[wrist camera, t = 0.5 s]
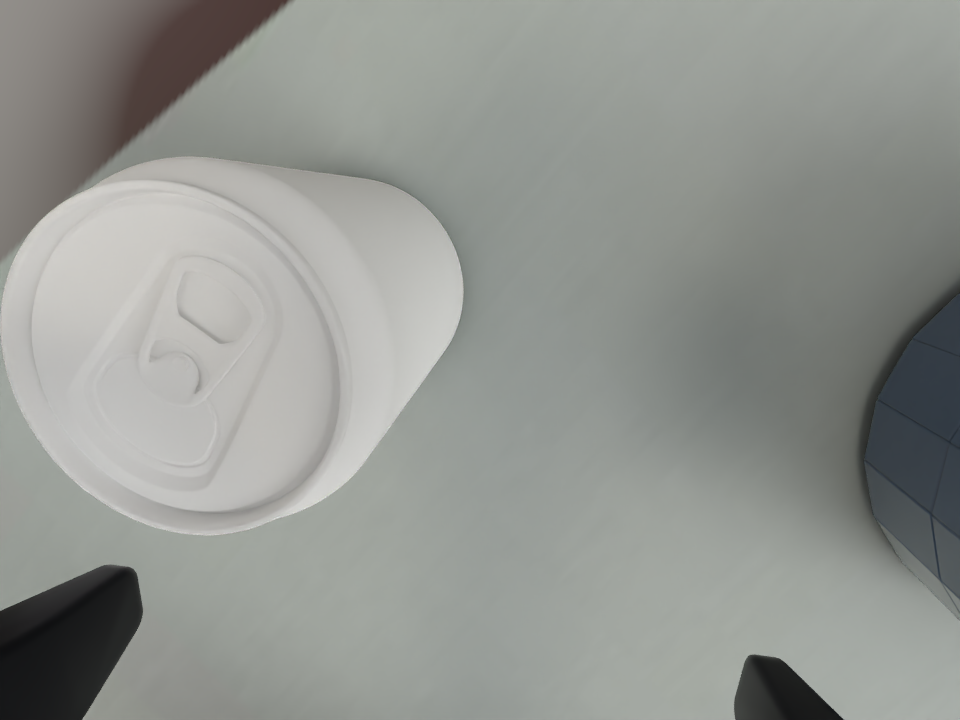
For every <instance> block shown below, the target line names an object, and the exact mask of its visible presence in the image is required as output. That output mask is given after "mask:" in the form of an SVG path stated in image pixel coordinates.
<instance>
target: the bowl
mask: <svg viewBox="0 0 960 720" xmlns="http://www.w3.org/2000/svg"><path fill="white" fill-rule="evenodd" d="M877 399H878V400H877V401H876V404H875V409H874V414H873V419H872V423H871V428H870V433H869V438H868V443H867V448H866V453H865V460H864V464H865V470H866V476H867V482H868V488H869V494H870V499H871V505H872V511H873V515H874V516H875V519H876V521H877V522H878V524H879V526H880V527H881V529H882V530H883V532H884V534H885V535H886V537H887V539H888V540H889V542H890V543H891V545H892V547H893V548H894V550H895V551H896V553H897V555H898V556H899V558H900V559H901V561H902V562H903V563H904V564H905V566H906V567H907V568H908V569H909V570H910V571H911V572H912V573H913V574H914V575H915V576H916V577H917V578H918V579H919V580H920V581H921V582H922V583H923V584H924V585H925V586H926V587H927V588H928V589H929V590H930V591H931V592H932V593H933V594H934V595H935V596H936V597H937V598H938V599H939V600H940V601H941V602H942V603H943V604H944V605H945V606H946V607H947V608H948V609H949V610H950V611H951V612H952V613H953V614H954V615H955V617H956V618H957V619H958V620H959V621H960V292H959V293H958V294H957V295H956V296H955V297H954V298H953V299H952V300H951V301H950V302H949V303H948V304H947V305H946V306H945V307H944V308H942V309H941V310H940V311H939V312H938V313H937V314H936V315H935V316H934V317H933V318H932V319H931V320H930V321H929V322H928V323H927V324H926V325H925V326H924V327H923V328H922V329H921V330H920V331H919V332H918V333H917V334H916V335H914V336H913V339H912V340H910V342H909V344H908V346H907V347H906V349H905V351H904V352H903V353H902V355H901V356H900V358H899V360H898V361H897V363H896V365H895V367H894V368H893V370H892V372H891V373H890V375H889V377H888V379H887V381H886V383H885V385H884V387H883V388H882V390H881V392H880V394H879V395H878V398H877Z"/></svg>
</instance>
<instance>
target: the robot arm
mask: <svg viewBox="0 0 960 720" xmlns="http://www.w3.org/2000/svg"><path fill="white" fill-rule="evenodd" d="M142 615H143V607H142V601H141V595H140V589H139V583H138V577H137V573H136V572H135V571H134V569H132V568H130V567H125V566H117V565H104V566H101V567H99V568H96V569H94V570H92V571H90V572H87V573H85V574H83V575H81V576H78V577H76V578H74V579H72V580H69V581H67V582H65V583H63V584H60V585H58V586H56V587H54V588H51V589H49V590H47V591H45V592H42V593H40V594H38V595H35V596H33V597H31V598H29V599H26V600H24V601H22V602H20V603H17V604H15V605H13V606H11V607H8V608H6V609H4V610H2V611H0V720H82V719H83V717H84V716H85V714H86V713H87V711H88V710H89V708H90V706H91V705H92V703H93V701H94V700H95V698H96V696H97V695H98V693H99V692H100V690H101V688H102V687H103V685H104V683H105V682H106V680H107V678H108V677H109V675H110V673H111V672H112V670H113V669H114V667H115V665H116V664H117V662H118V660H119V659H120V657H121V655H122V654H123V652H124V650H125V649H126V647H127V646H128V644H129V642H130V641H131V639H132V637H133V636H134V634H135V632H136V631H137V629H138V627H139V625H140V622H141V619H142ZM734 712H735V720H844V719H843V718H842V717H840V716H839V715H838V714H837V713H836V712H835V711H834V710H833V709H832V708H831V707H830V706H829V705H828V704H827V703H826V702H825V701H824V700H823V699H822V698H821V697H820V696H819V695H818V694H817V693H816V692H815V691H814V690H813V689H812V688H811V687H810V686H809V685H808V684H807V683H806V682H805V681H804V680H803V679H802V678H801V677H799V676H798V675H797V674H796V673H795V672H794V671H793V670H792V669H791V668H790V667H789V666H788V665H787V664H786V663H785V662H784V661H782V660H781V659H779V658H775V657H768V656H761V655H750V656H748V657H747V659H746V660H745V663H744V667H743V670H742V674H741V678H740V681H739V685H738V689H737V692H736V696H735V702H734Z"/></svg>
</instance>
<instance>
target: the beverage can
mask: <svg viewBox="0 0 960 720" xmlns="http://www.w3.org/2000/svg"><path fill="white" fill-rule="evenodd" d="M463 291H464V290H463V277H462V271H461V266H460V262H459V259H458V256H457V253H456V250H455V248H454V245H453V243H452V241H451V239H450V237H449V236H448V234H447V232H446V231H445V229H444V228H443V226H442V225H441V223H440V222H439V221H438V219H437V218H436V217H435V216H434V215H433V214H432V213H431V212H430V211H429V210H428V209H427V208H426V207H425V206H424V205H423V204H422V203H420V202H419V201H418V200H417V199H415V198H414V197H412V196H411V195H409V194H408V193H406V192H404V191H402V190H400V189H398V188H396V187H394V186H391V185H389V184H386V183H383V182H379V181H375V180H370V179H364V178H357V177H350V176H343V175H335V174H328V173H321V172H313V171H306V170H299V169H291V168H284V167H277V166H269V165H262V164H255V163H248V162H240V161H233V160H225V159H218V158H209V157H196V156H184V157H171V158H164V159H157V160H153V161H148V162H144V163H141V164H137V165H134V166H132V167H129V168H126V169H124V170H121V171H119V172H117V173H115V174H113V175H111V176H109V177H107V178H106V179H104V180H102V181H101V182H99V183H98V184H96V185H95V186H93V187H92V188H90V189H88V190H85V191H83V192H81V193H79V194H77V195H75V196H73V197H71V198H69V199H67V200H66V201H64V202H63V203H61V204H60V205H58V206H57V207H56V208H54V209H53V210H52V211H51V212H49V213H48V214H47V215H46V216H45V217H44V218H43V219H42V220H41V221H40V222H39V223H38V224H37V225H36V226H35V227H34V229H33V230H32V231H31V232H30V233H29V235H28V236H27V238H26V239H25V241H24V242H23V244H22V245H21V247H20V249H19V251H18V253H17V254H16V257H15V259H14V261H13V263H12V266H11V268H10V271H9V274H8V277H7V281H6V284H5V288H4V293H3V299H2V307H1V343H2V351H3V357H4V362H5V367H6V371H7V375H8V378H9V381H10V385H11V387H12V390H13V393H14V396H15V398H16V401H17V403H18V405H19V407H20V409H21V411H22V414H23V416H24V417H25V419H26V421H27V423H28V425H29V426H30V428H31V430H32V431H33V433H34V435H35V436H36V438H37V439H38V441H39V442H40V443H41V445H42V446H43V448H44V449H45V450H46V451H47V453H48V454H49V455H50V456H51V458H52V459H53V460H54V461H55V462H56V463H57V465H58V466H59V467H60V468H61V469H62V470H63V471H64V472H65V473H66V474H67V475H68V476H69V477H70V478H71V479H72V480H74V481H75V482H76V483H77V484H78V485H79V486H80V487H82V488H83V489H84V490H85V491H87V492H88V493H89V494H91V495H92V496H93V497H95V498H96V499H98V500H99V501H101V502H102V503H104V504H105V505H107V506H108V507H110V508H112V509H114V510H115V511H117V512H119V513H121V514H123V515H125V516H127V517H129V518H131V519H134V520H136V521H139V522H141V523H144V524H147V525H149V526H153V527H156V528H159V529H163V530H167V531H172V532H177V533H183V534H192V535H221V534H229V533H235V532H240V531H244V530H248V529H252V528H255V527H258V526H260V525H263V524H265V523H268V522H270V521H272V520H274V519H278V518H282V517H285V516H288V515H291V514H294V513H297V512H299V511H302V510H304V509H306V508H308V507H310V506H312V505H314V504H316V503H318V502H320V501H321V500H323V499H325V498H326V497H328V496H329V495H331V494H332V493H333V492H335V491H336V490H337V489H339V488H340V487H341V486H342V485H344V484H345V483H346V482H347V481H348V480H349V479H350V478H351V477H352V476H353V475H354V474H355V473H356V472H357V471H358V470H359V468H360V467H361V466H362V465H363V463H364V462H365V461H366V460H367V458H368V457H369V455H370V454H371V453H372V451H373V450H374V449H375V447H376V446H377V444H378V443H379V442H380V440H381V439H382V438H383V436H384V435H385V433H386V432H387V431H388V429H389V428H390V426H391V425H392V424H393V422H394V421H395V419H396V418H397V417H398V415H399V414H400V413H401V411H402V410H403V408H404V407H405V406H406V404H407V403H408V401H409V400H410V399H411V397H412V396H413V395H414V393H415V392H416V390H417V389H418V388H419V386H420V385H421V383H422V382H423V381H424V379H425V378H426V376H427V375H428V374H429V372H430V371H431V370H432V368H433V367H434V365H435V364H436V363H437V361H438V360H439V358H440V357H441V356H442V354H443V353H444V351H445V350H446V349H447V347H448V345H449V344H450V342H451V340H452V338H453V336H454V334H455V332H456V329H457V327H458V324H459V320H460V317H461V312H462V306H463Z"/></svg>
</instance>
